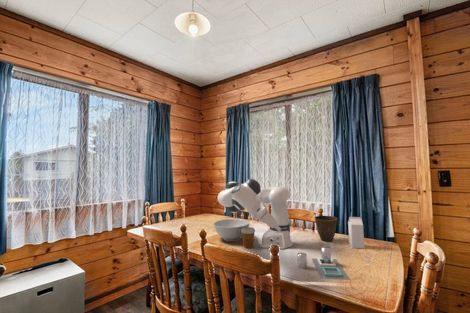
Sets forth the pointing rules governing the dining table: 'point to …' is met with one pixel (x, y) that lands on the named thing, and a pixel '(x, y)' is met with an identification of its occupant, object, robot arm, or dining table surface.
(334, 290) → the dining table surface
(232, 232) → the decorative bowl
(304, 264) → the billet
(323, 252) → the grey tall round-topped piece
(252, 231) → the disposable coffee cup
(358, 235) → the milk carton
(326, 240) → the plant pot
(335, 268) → the grey flat plate
